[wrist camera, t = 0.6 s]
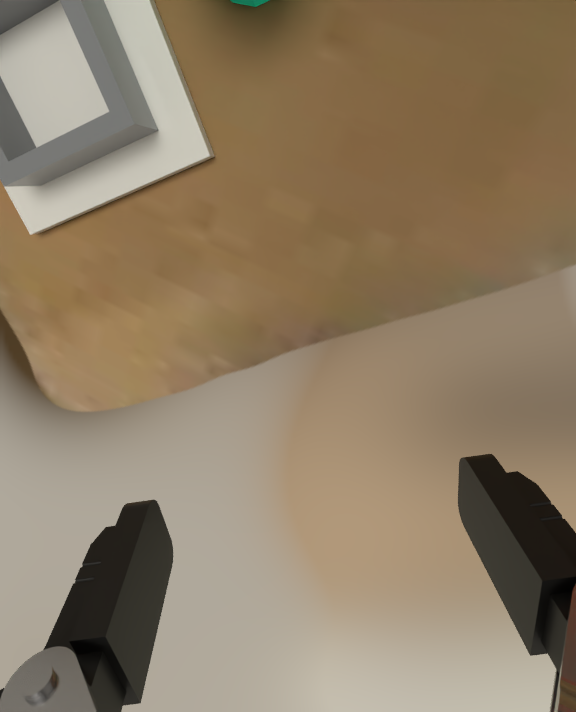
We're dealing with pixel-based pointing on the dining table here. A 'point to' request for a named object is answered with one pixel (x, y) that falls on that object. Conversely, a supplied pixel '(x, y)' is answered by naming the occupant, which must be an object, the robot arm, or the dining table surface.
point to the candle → (250, 2)
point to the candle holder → (89, 106)
